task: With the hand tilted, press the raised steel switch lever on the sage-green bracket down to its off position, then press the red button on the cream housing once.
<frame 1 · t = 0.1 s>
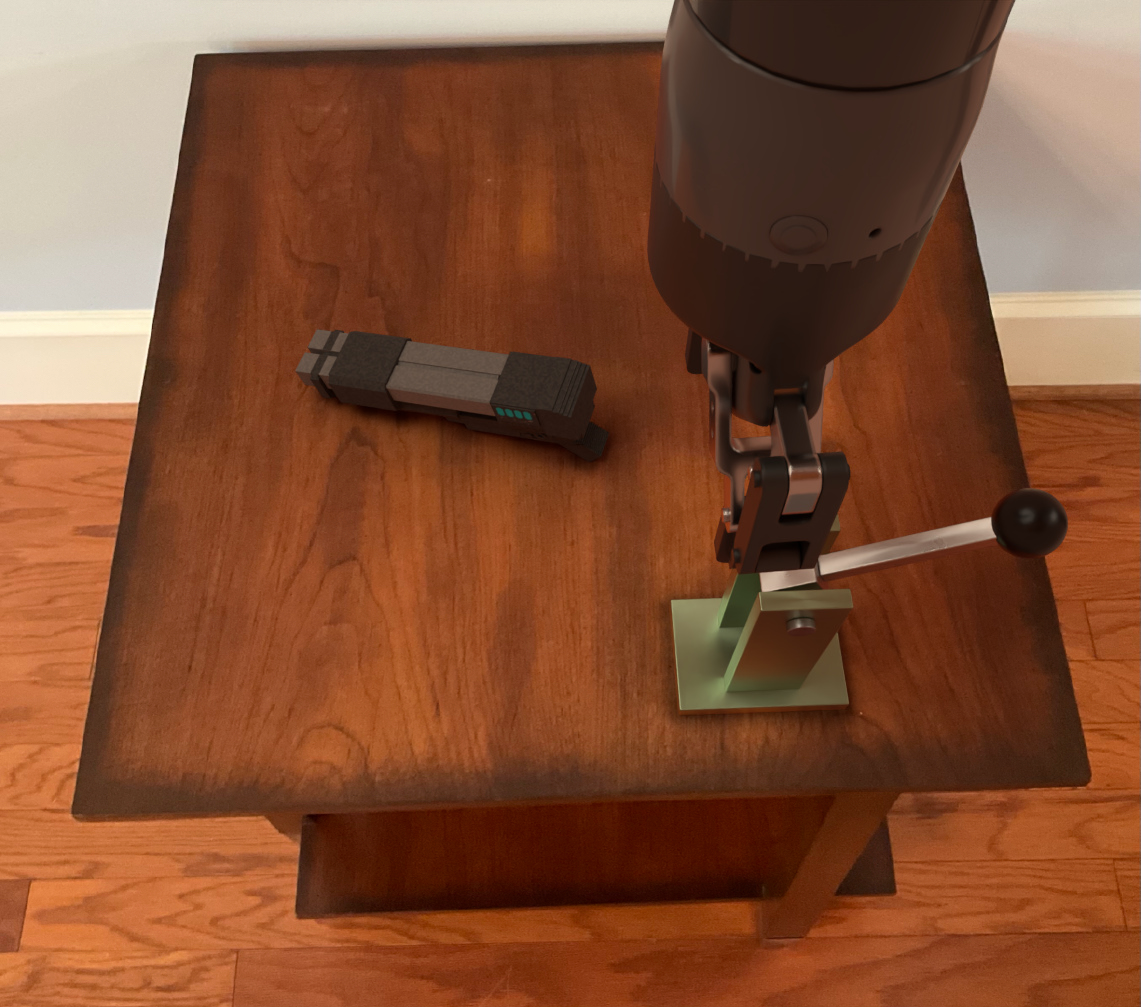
hand: (726, 454, 40), 25 cm above the table, tool pointing down, fingers open, 8 cm apart
switch bracket: (754, 656, 62), on the table
switch lever: (907, 549, 48), point 16 cm above the table, hinge at 28.0°
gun: (458, 416, 70), on the table
button box: (823, 105, 83), on the table
red button: (833, 64, 79), point 4 cm above the table, slide at 0.1 cm
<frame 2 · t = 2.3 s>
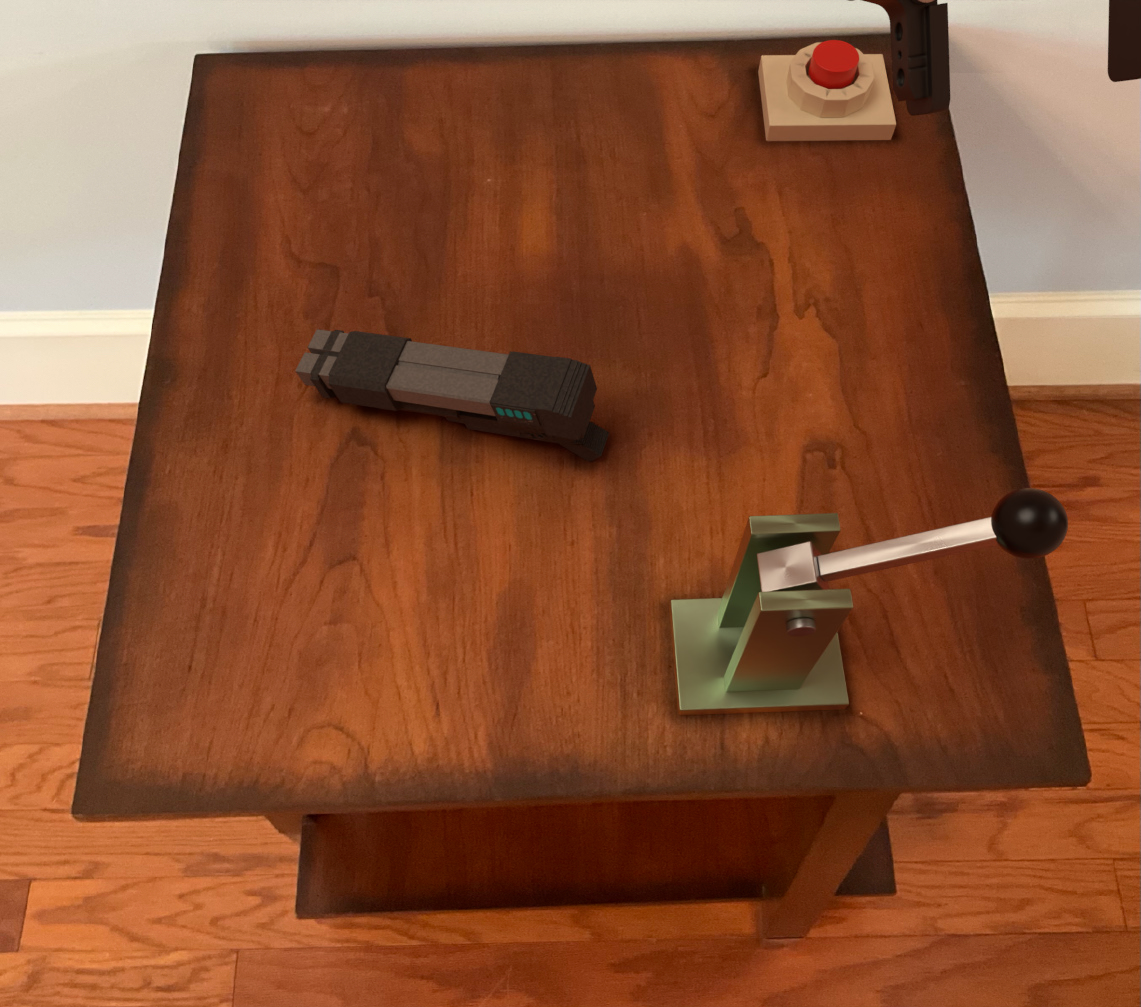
hand: (1032, 96, 39), 31 cm above the table, tool tilted 45°, fingers open, 8 cm apart
nothing on the table moved.
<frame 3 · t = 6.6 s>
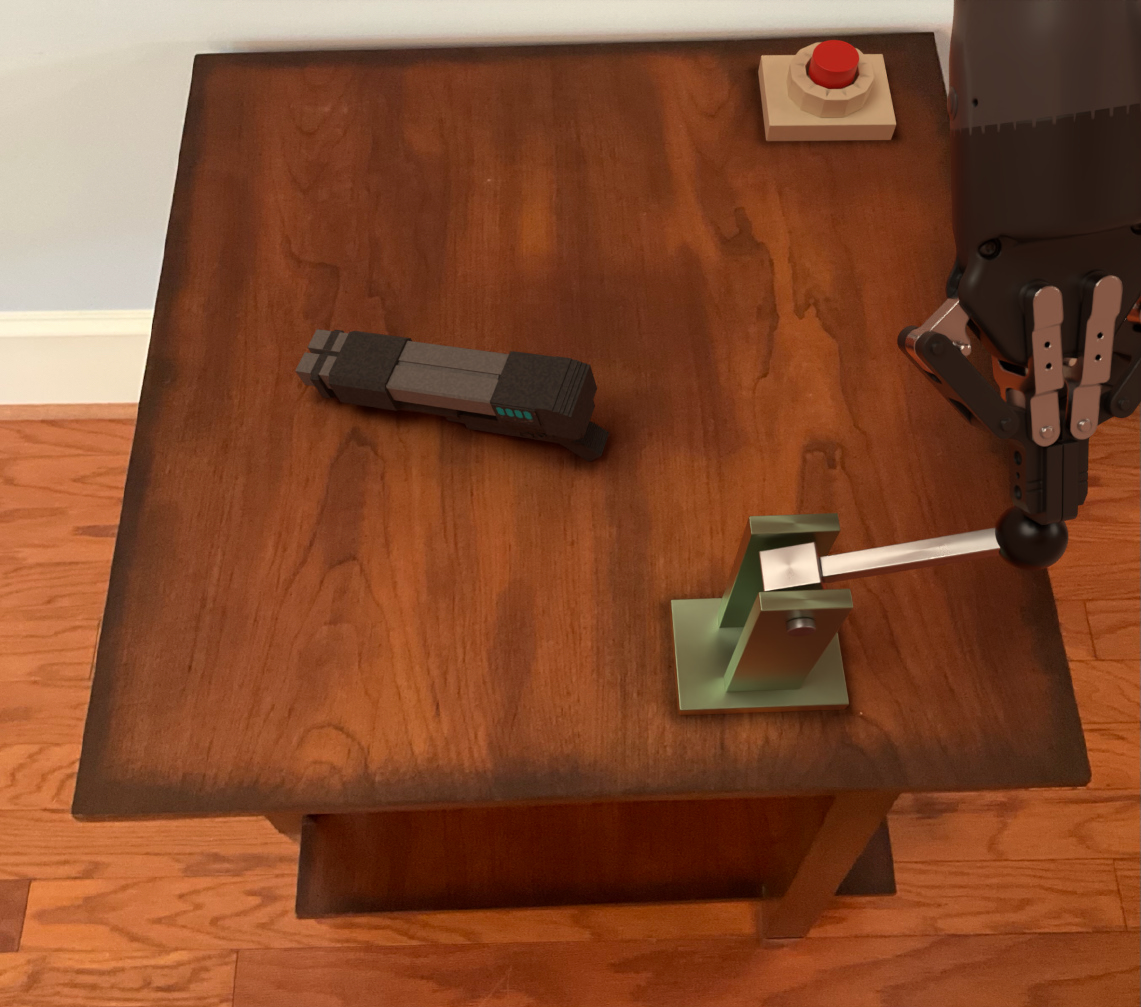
hand: (1048, 516, 45), 19 cm above the table, tool tilted 45°, fingers closed
switch lever: (909, 555, 49), point 15 cm above the table, hinge at 19.7°
everything else where it was.
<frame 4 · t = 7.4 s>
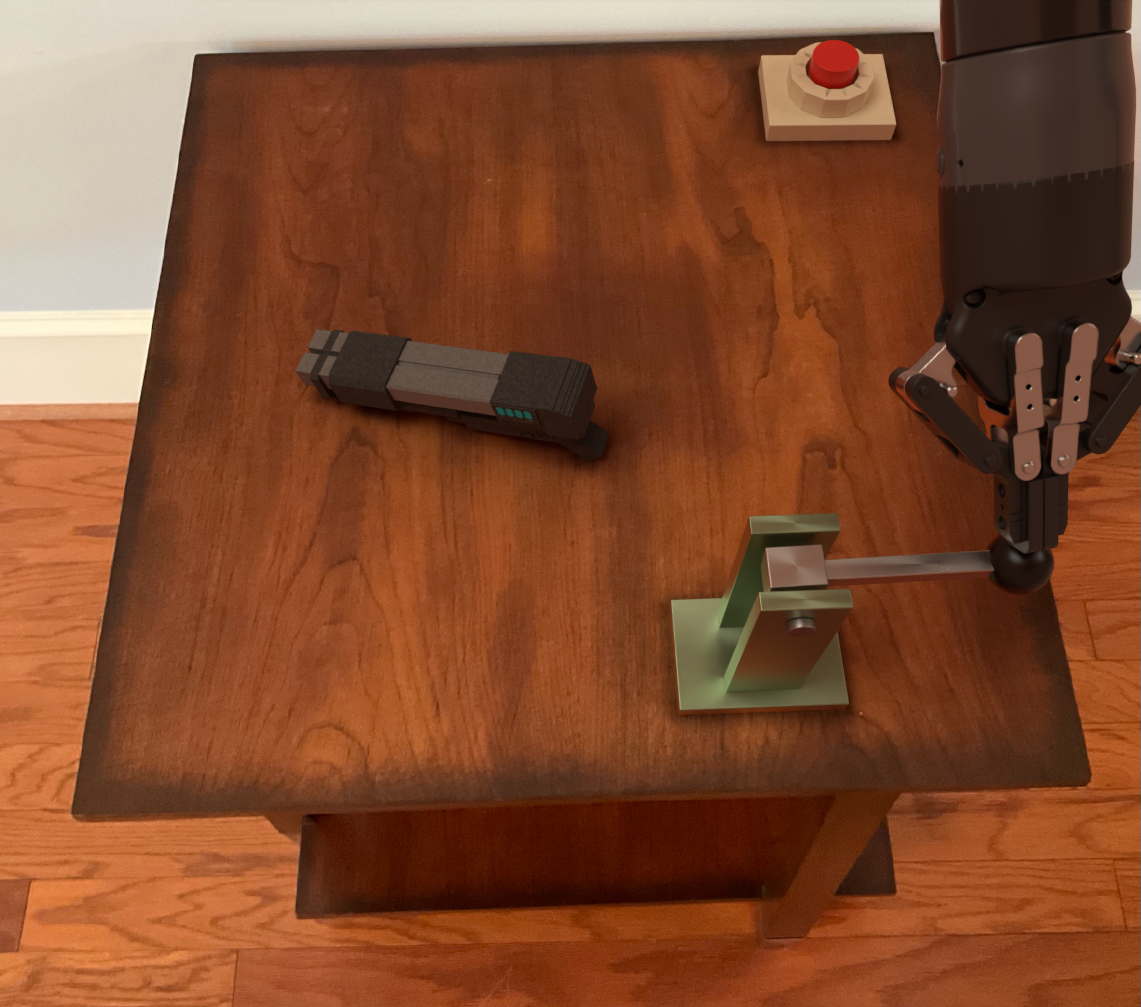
hand: (1031, 545, 48), 16 cm above the table, tool tilted 45°, fingers closed
switch lever: (907, 568, 50), point 13 cm above the table, hinge at 3.1°, touching gripper
everything else where it was.
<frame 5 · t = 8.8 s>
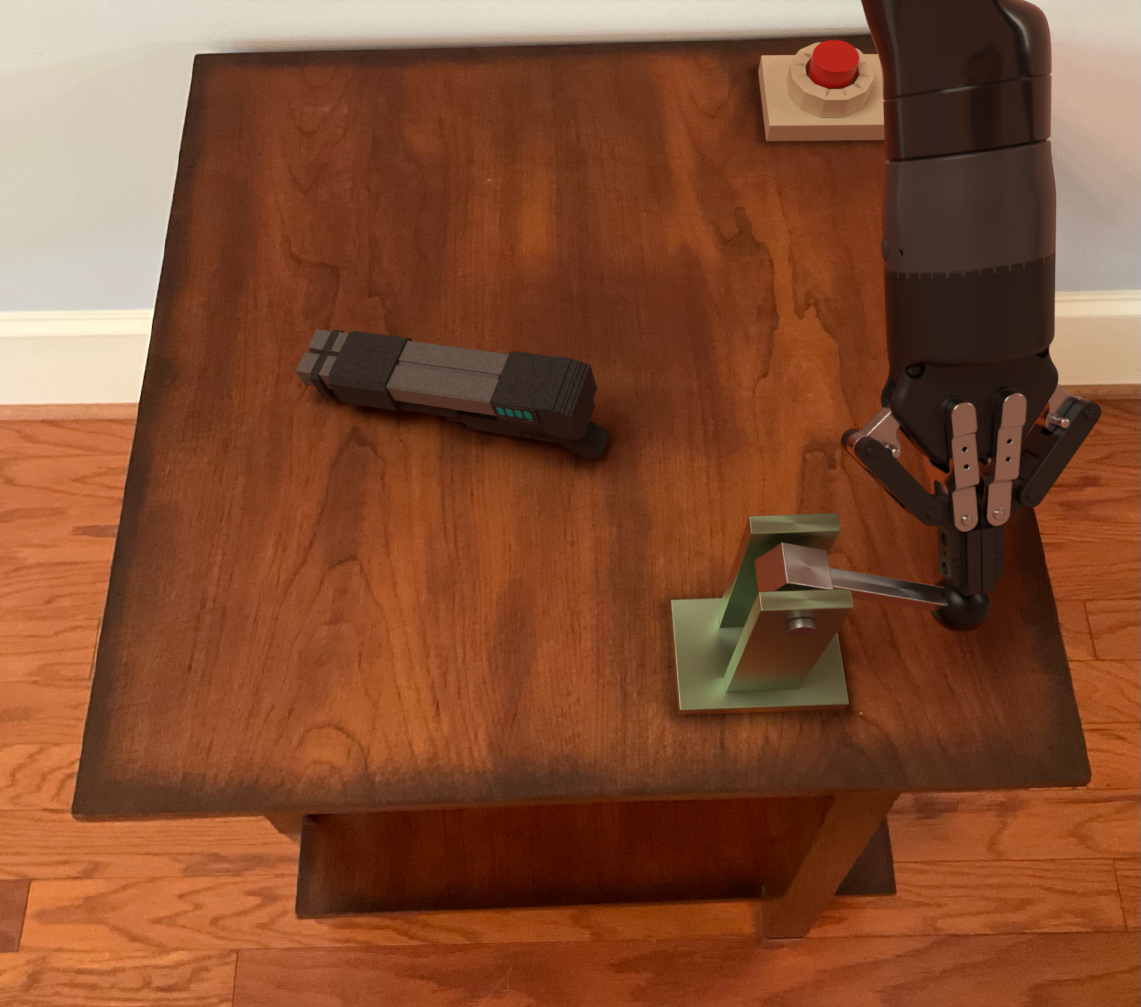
hand: (971, 587, 53), 10 cm above the table, tool tilted 45°, fingers closed
switch lever: (881, 589, 53), point 11 cm above the table, hinge at -26.0°, touching gripper
everything else where it was.
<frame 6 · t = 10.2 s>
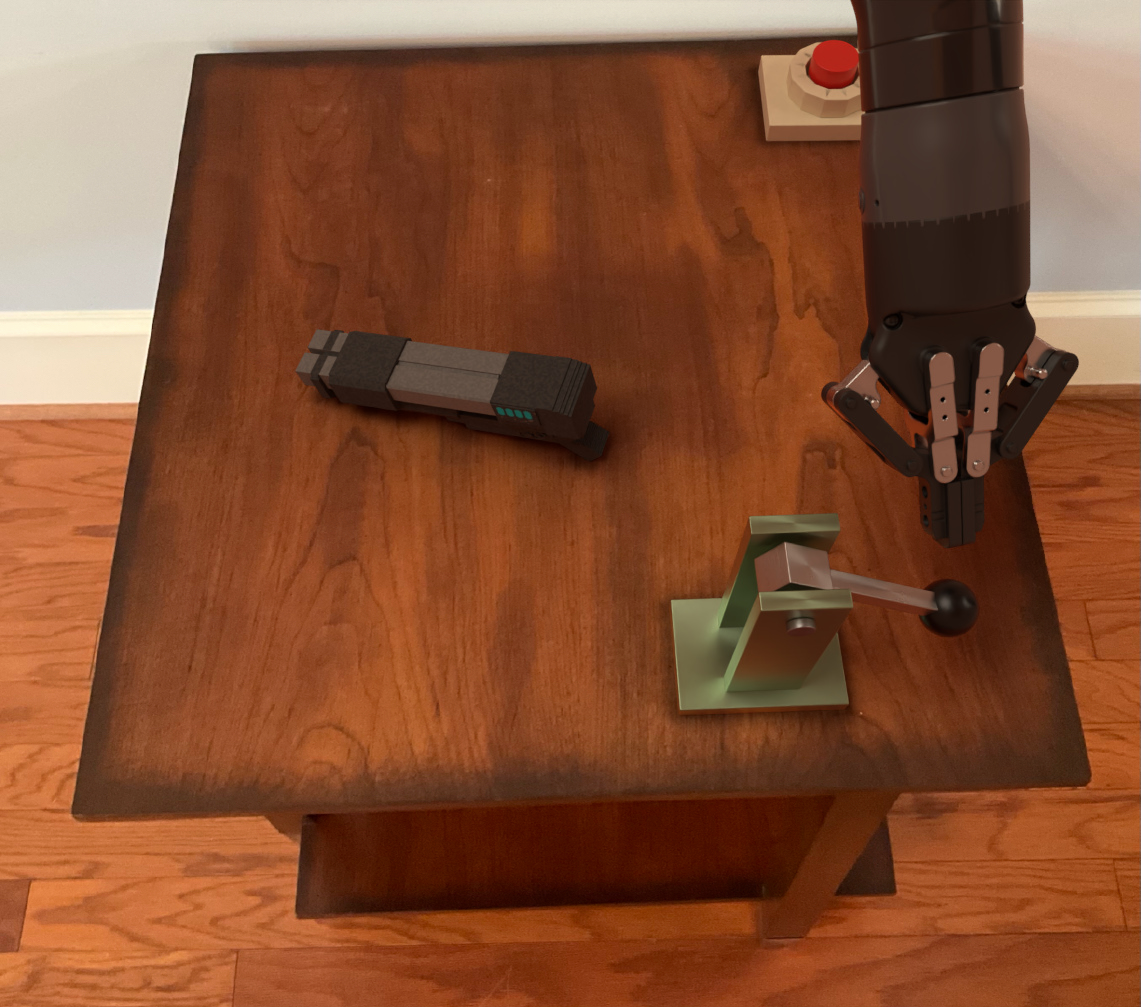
hand: (953, 541, 53), 11 cm above the table, tool tilted 45°, fingers closed
switch lever: (875, 592, 53), point 10 cm above the table, hinge at -30.5°
everything else where it was.
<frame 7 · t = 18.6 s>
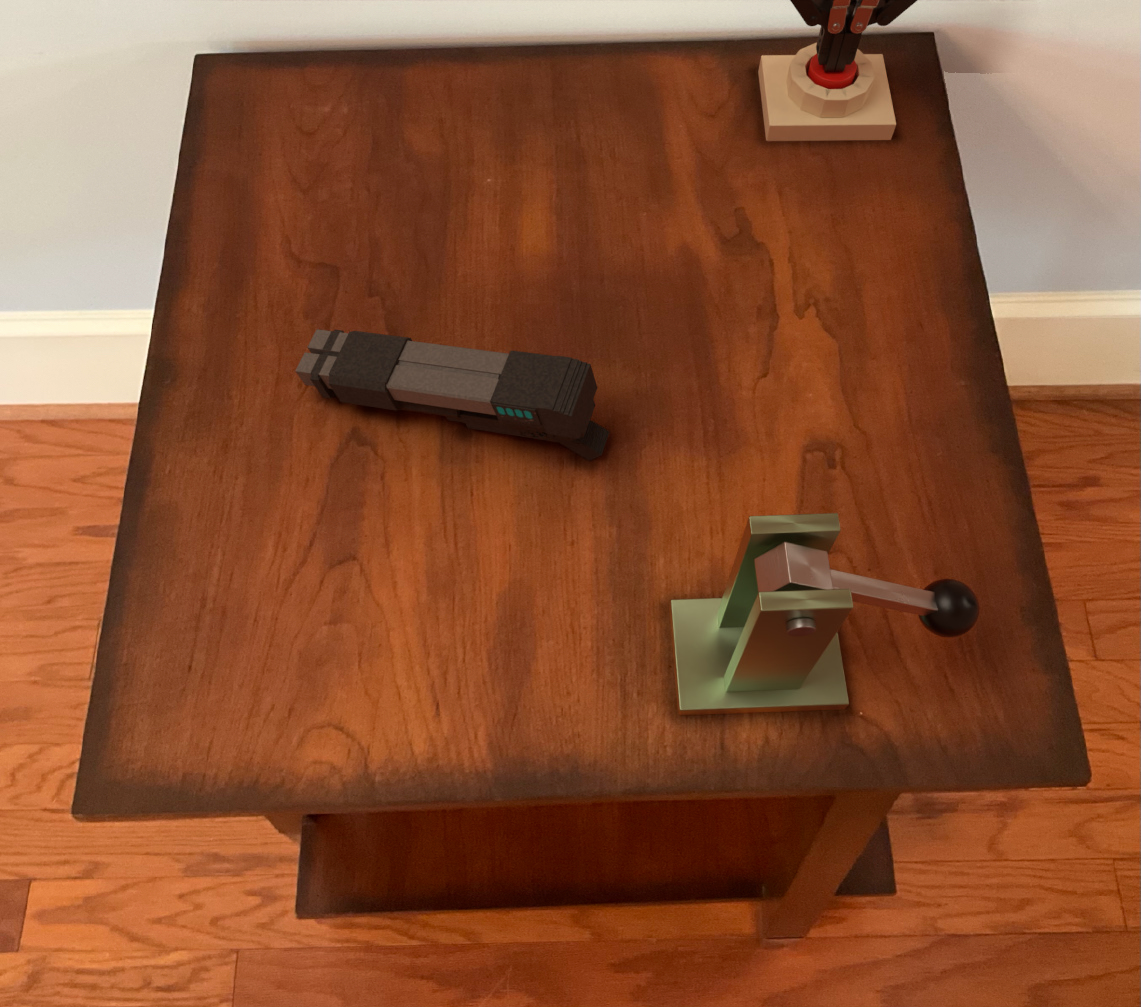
hand: (832, 64, 79), 4 cm above the table, tool pointing down, fingers closed
red button: (831, 73, 80), point 3 cm above the table, slide at -0.8 cm, touching gripper
everything else where it was.
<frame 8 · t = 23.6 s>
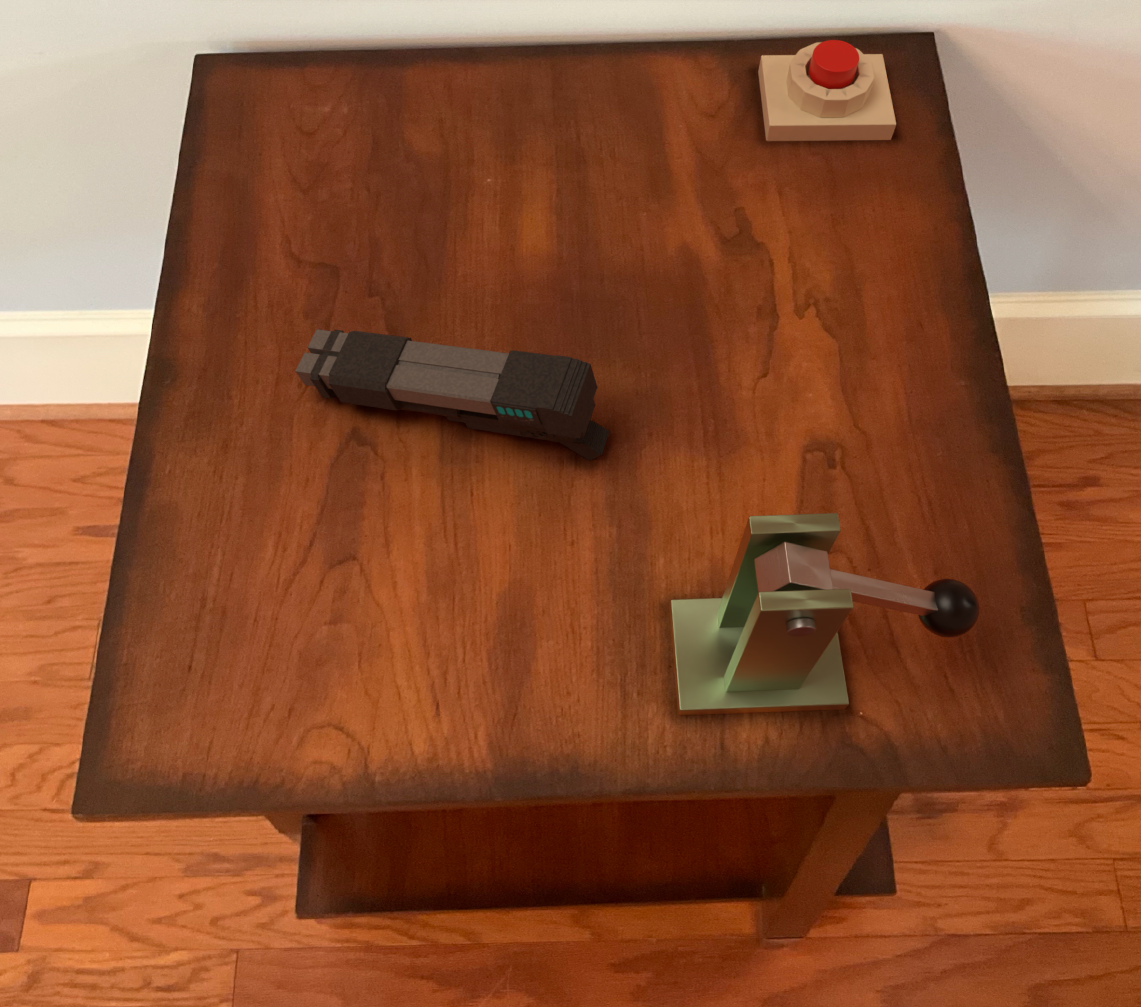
red button: (833, 64, 79), point 4 cm above the table, slide at 0.1 cm
everything else where it was.
at the end: switch lever at -30° (first picture: +28°); red button pushed in 1.1 cm at the most during the clip, back to where it started at the end; red button slide at 0.1 cm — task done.
